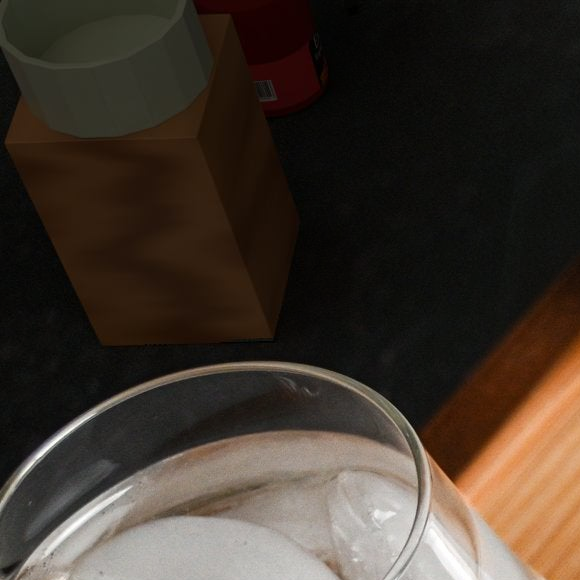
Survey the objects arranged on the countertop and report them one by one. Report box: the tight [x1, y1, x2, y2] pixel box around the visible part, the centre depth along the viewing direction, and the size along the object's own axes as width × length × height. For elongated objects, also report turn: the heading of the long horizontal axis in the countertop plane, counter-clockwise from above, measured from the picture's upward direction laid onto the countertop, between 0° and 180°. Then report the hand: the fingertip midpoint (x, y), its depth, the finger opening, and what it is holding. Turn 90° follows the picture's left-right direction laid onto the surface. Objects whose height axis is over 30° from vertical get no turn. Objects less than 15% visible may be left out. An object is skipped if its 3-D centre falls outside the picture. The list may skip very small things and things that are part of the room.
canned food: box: [193, 0, 329, 118], centre depth 142 cm, size 8×8×11 cm
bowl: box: [0, 0, 214, 138], centre depth 119 cm, size 12×12×5 cm
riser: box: [4, 14, 302, 347], centre depth 128 cm, size 12×12×17 cm
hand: (263, 35), depth 141 cm, fingers open, 13 cm apart
